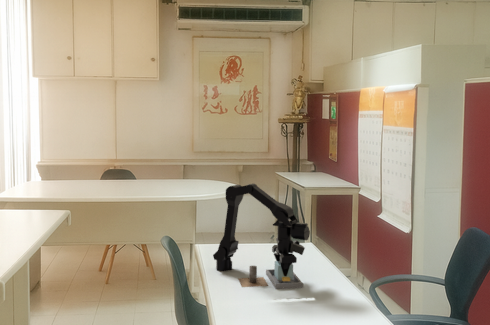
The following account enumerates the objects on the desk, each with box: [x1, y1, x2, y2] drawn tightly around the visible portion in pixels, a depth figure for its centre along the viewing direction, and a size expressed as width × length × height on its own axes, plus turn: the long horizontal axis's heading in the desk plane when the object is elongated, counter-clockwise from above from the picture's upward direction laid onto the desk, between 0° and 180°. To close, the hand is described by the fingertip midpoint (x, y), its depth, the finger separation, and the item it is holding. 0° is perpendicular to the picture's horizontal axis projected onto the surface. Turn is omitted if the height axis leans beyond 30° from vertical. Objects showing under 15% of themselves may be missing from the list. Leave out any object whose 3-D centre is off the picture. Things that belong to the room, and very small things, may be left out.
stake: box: [237, 265, 269, 288], centre depth 205 cm, size 11×11×8 cm
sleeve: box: [274, 260, 294, 281], centre depth 206 cm, size 8×6×6 cm
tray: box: [265, 268, 304, 290], centre depth 208 cm, size 11×19×3 cm, turn 9°
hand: (283, 273), depth 207 cm, fingers closed on sleeve, 6 cm apart
